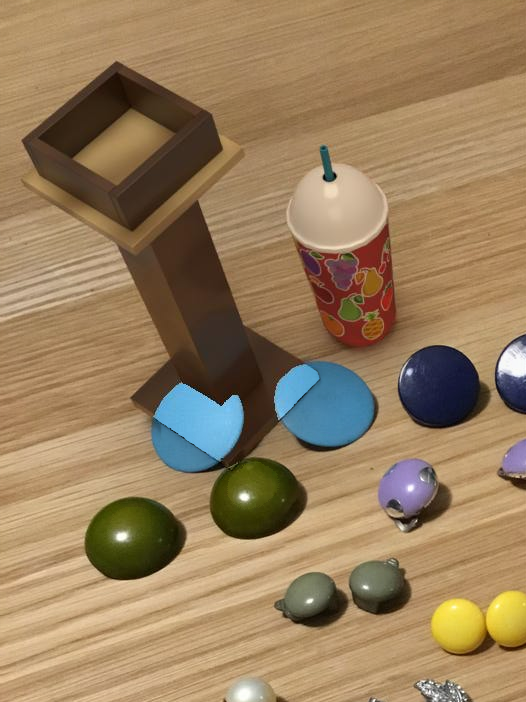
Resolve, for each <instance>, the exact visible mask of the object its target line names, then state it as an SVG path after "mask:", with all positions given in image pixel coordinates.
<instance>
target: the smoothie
mask: <svg viewBox="0 0 526 702" xmlns="http://www.w3.org/2000/svg"><path fill="white" fill-rule="evenodd" d="M318 151H319V155H320V159H321V164H320V165H318V166H315V167H313V168H312V169H310V170H309V171H308V172H307V173H306V174H304V175H303V177H302V178H301V179H300V180H299V182H298V183H297V184H296V186H295V188H294V191H293V194H292V196H291V198H290V199H289V201H288V203H287V207H286V211H285V219H286V226H287V229H288V230H289V231H290V235H291V238H292V240H293V243H294V245H295V248H296V251H297V253H298V257H299V260H300V262H301V265H302V268H303V271H304V273H305V276H306V279H307V282H308V284H309V287H310V290H311V293H312V297H313V299H314V302H315V304H316V307H317V309H318V313H319V315H320V318H321V321H322V323H323V324H322V325H323V326H324V327H325V329H326V331H327V332H328V334H330V335H331V336H333V337H334V338H335V339H336V340H338V341H339V342H341V343H342V344H344V345H346V346H349V347H354V348H355V347H358V348H362V347H363V348H364V347H368V346H372V345H374V344H376V343H379V342H380V341H381V340H383V338H385V337H386V336H387V335H388V333H389V331H390V329H391V327H392V325H393V324H394V322H395V321H396V315H397V304H396V303H397V302H396V291H395V288H396V287H395V278H394V265H393V255H392V243H391V241H392V240H391V231H390V230H391V229H390V227H391V226H390V218H389V211H390V210H389V202H388V197H387V196H386V194H385V193H384V190H383V189H382V187H381V186H380V185H378V184H377V183H376V182H374V181H373V179H371V178H370V177H369V176H368V174H366V173H364V172H363V171H362V170H360V169H359V168H357V167H356V166H353V165H349V164H347V163H343V162H331V157H330V152H329V147H328V145H325V144H321V145H320V146H319V150H318Z"/></svg>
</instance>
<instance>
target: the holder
mask: <svg viewBox="0 0 526 702" xmlns="http://www.w3.org/2000/svg"><path fill="white" fill-rule="evenodd" d="M20 141H21V143H22V145H23V147H24V149H25V151H26V153H27V155H28V156H29V158H30V161H31V163H32V164H33V167H32V168H30V169H29V170H28V171H26V173H24V174H23V175H22V176H21V177H20V178H19V180H20V182H21V183H22V185H23V187H24V188H26V189H27V190H29V191H30V192H32V193H34V194H35V195H37V196H38V197H40V198H42V199H43V200H45V201H46V202H48V203H50V204H51V205H53V206H54V207H56V208H58V209H59V210H61V211H63V212H64V213H65V214H67V215H69V216H70V217H73V218H74V219H75V220H78V221H79V222H80V223H82V224H84V225H85V226H87V227H89V228H90V229H92V230H93V231H95V232H97V233H98V234H100V235H101V236H103V237H105V238H106V239H108V240H110V241H112V242H113V243H114V244H116V246H117V249H118V251H119V253H120V256H121V257H122V259H123V262H124V264H125V265H126V267H127V270H128V272H129V274H130V276H131V278H132V281H133V282H134V285H135V287H136V289H137V291H138V293H139V295H140V297H141V299H142V301H143V304H144V306H145V308H146V310H147V312H148V315H149V316H150V319H151V320H152V322H153V325H154V326H155V329H156V331H157V334H158V336H159V337H160V338H159V339H161V342H162V344H163V346H164V348H165V350H166V352H167V354H168V356H169V359H168V360H167V361H166V362H165V363H164V364H163V365H162V366H161V367H160V368H159V369H157V371H156V372H155V373H154V374H152V376H150V377H149V379H148V380H147V381H145V382H144V384H142V385H141V387H139V388H138V389H137V390H136V391H135V392H134V393H133V394H132V395H131V396H130V397H129V398H130V400H131V403H132V404H133V406H134V407H135V408H137V409H139V410H140V411H142V412H143V413H145V414H146V415H148V416H149V417H150V418H152V419H154V418H153V416H154V415H155V412H156V410H157V408H158V407H159V405H160V403H161V401H162V400H163V398H164V397H165V396H166V395H167V394H168V393H169V392H170V391H171V390H172V389H173V388H174V387H175V386H176V385H178V384H179V383H181V382H182V383H183V384H186V385H188V386H190V387H191V388H193V389H195V390H196V391H198V392H200V393H202V394H203V395H205V396H207V397H208V398H210V399H211V400H213V401H215V402H216V403H217V404H219V405H220V406H222V405H223V404H224V402H226V400H228V399H229V398H230V397H231V396H232V395H238V396H239V398H240V400H241V403H242V406H243V411H244V424H243V428H242V433H241V435H240V438H239V440H238V442H237V444H236V445H235V446H234V448H233V450H232V451H231V452H230V453H229V454H228V455H226V456H225V457H224V458H221V460H222V464H223V465H222V464H221V465H222V466H223V467H224V468H226V469H228V467H230V466H232V465H234V464H236V463H237V462H239V461H241V460H242V461H243V460H244V459H245V458H246V457H247V456H248V454H250V452H252V450H253V449H254V448H255V447H256V446H257V445H258V444H259V443H260V442H261V441H262V440H263V439H264V438H265V437H266V436H267V435H268V434H269V433H270V432H271V431H272V430H273V429H274V428H275V426H276V425H278V424H279V423H280V421H279V420H278V417H277V413H276V411H275V403H274V396H275V390H276V386H277V383H278V382H279V380H280V379H281V378H282V377H283V376H285V374H287V373H288V372H289V371H290V370H291V369H292V368H294V367H296V366H299V365H303V364H307V363H306V362H305V361H303V360H301V359H300V358H298V357H296V356H295V355H293V354H291V352H288V351H287V350H285V349H284V348H282V347H280V346H279V345H277V344H276V343H274V342H272V341H270V340H269V339H267V338H265V337H264V336H262V334H260V333H258V332H256V331H254V330H253V329H251V328H249V327H248V326H246V325H245V324H244V323H243V320H242V317H241V315H240V312H239V309H238V306H237V303H236V300H235V297H234V296H233V293H232V289H231V287H230V284H229V281H228V279H227V275H226V273H225V271H224V270H225V269H224V268H223V264H222V262H221V260H220V256H219V254H218V251H217V248H216V245H215V242H214V240H213V237H212V234H211V231H210V229H209V226H208V224H207V221H206V218H205V215H204V212H203V210H202V206H201V204H200V202H199V199H200V198H202V196H204V195H205V194H206V193H207V192H208V191H209V190H210V189H211V188H212V187H214V185H215V184H217V183H218V182H220V181H221V179H222V178H223V177H224V176H226V175H227V174H228V173H229V172H230V171H231V170H232V169H233V168H234V167H235V166H236V165H238V164H239V163H240V162H241V161H242V160H243V159H244V158H245V157H246V153H245V150H244V147H243V146H241V145H240V144H238V143H236V142H235V141H233V140H231V139H229V138H228V137H226V136H224V135H222V134H220V133H219V132H218V129H217V125H216V122H215V118H214V116H213V114H212V113H211V112H210V111H208V110H206V109H204V108H203V107H201V106H199V105H198V104H195V103H193V102H192V101H190V100H188V99H187V98H186V97H183V96H181V95H180V94H178V93H176V92H174V91H172V90H170V89H168V88H166V87H165V86H163V85H161V84H160V83H157V82H156V81H154V80H152V79H151V78H148V77H147V76H145V75H144V74H142V73H140V72H137V71H136V70H134V69H133V68H130V67H128V66H126V65H125V64H123V63H122V62H120V61H118V60H115V61H114V62H113V63H112V64H110V66H108V67H107V68H106V69H104V70H103V71H102V72H101V73H100V74H99V75H97V76H96V77H95V78H94V79H92V81H90V82H89V83H87V84H86V85H85V86H84V87H83V88H82V89H80V90H79V91H78V92H77V93H76V94H74V95H73V96H72V97H71V98H69V99H68V100H67V101H66V102H65V103H64V104H63V105H61V106H60V107H58V109H56V110H55V111H54V112H53V113H52V114H50V115H49V116H48V117H47V118H46V119H45V120H43V121H42V122H41V123H40V124H39V125H37V126H36V127H35V128H33V130H31V131H30V132H29V133H28V134H27V135H25V136H24V137H23V138H22V139H21V140H20ZM264 436H265V437H264ZM262 438H263V439H262ZM260 440H261V441H260ZM242 461H241V462H242Z"/></svg>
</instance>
